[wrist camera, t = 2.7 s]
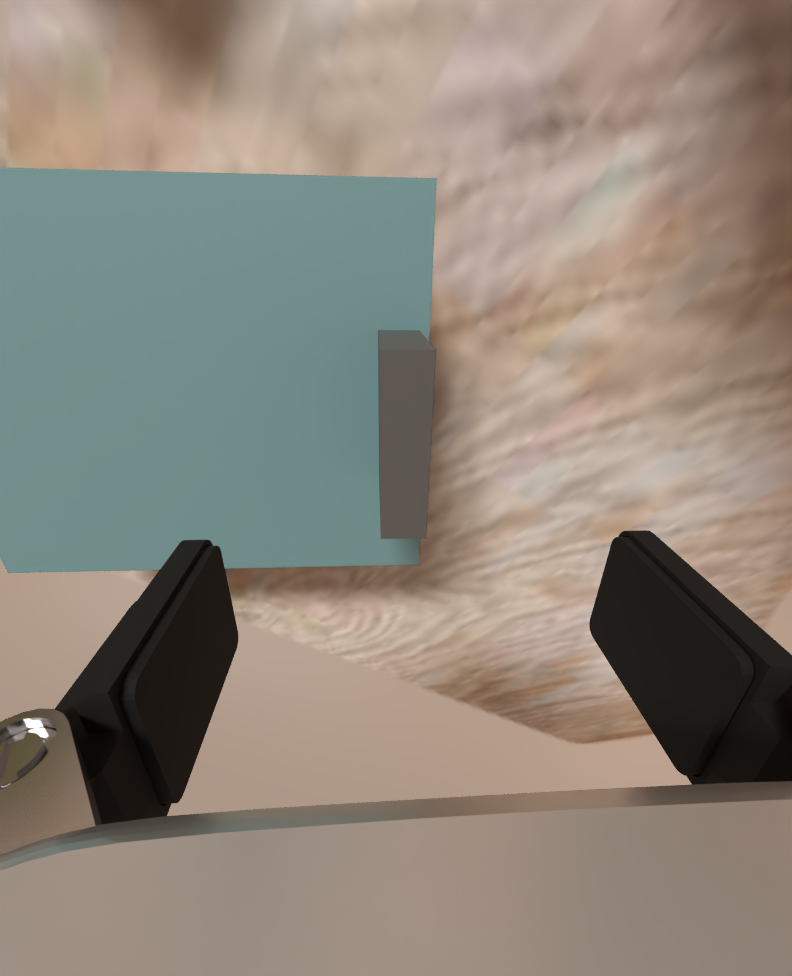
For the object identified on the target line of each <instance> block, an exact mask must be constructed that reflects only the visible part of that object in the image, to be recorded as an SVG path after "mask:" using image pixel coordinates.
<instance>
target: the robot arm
mask: <svg viewBox="0 0 792 976" xmlns="http://www.w3.org/2000/svg"><path fill="white" fill-rule="evenodd" d="M590 631H591V634H592V636H593V638H594V640H595V641H596V643H597V644H598V646H599V648H600V649H601V651H602V652H603V654H604V655H605V657H606V659H607V660H608V662H609V663H610V665H611V667H612V668H613V670H614V671H615V673H616V674H617V676H618V678H619V679H620V681H621V682H622V684H623V686H624V687H625V689H626V690H627V692H628V693H629V695H630V697H631V698H632V700H633V701H634V703H635V705H636V706H637V708H638V709H639V711H640V712H641V714H642V716H643V717H644V719H645V720H646V722H647V724H648V725H649V727H650V728H651V730H652V731H653V733H654V735H655V736H656V738H657V739H658V741H659V743H660V744H661V746H662V747H663V749H664V750H665V752H666V754H667V755H668V757H669V758H670V760H671V762H672V763H673V765H674V766H675V768H676V769H677V770H678V771H679V772H680V773H681V774H683V775H686V776H687V777H688V779H689V780H690V782H691V783H692V785H677V786H657V787H636V788H616V789H595V790H577V791H558V792H541V793H521V794H504V795H485V796H468V797H449V798H432V799H415V800H398V801H382V802H366V803H349V804H334V805H333V804H332V805H317V806H300V807H283V808H267V809H253V810H240V811H229V812H215V813H203V814H190V815H180V816H167V814H168V811H169V808H170V806H171V803H178V802H179V801H180V799H181V798H182V796H183V793H184V791H185V788H186V785H187V783H188V780H189V777H190V774H191V772H192V769H193V766H194V763H195V761H196V758H197V755H198V753H199V750H200V747H201V744H202V742H203V739H204V736H205V734H206V731H207V728H208V725H209V723H210V720H211V717H212V714H213V712H214V709H215V706H216V703H217V701H218V698H219V695H220V693H221V690H222V687H223V684H224V682H225V679H226V676H227V673H228V670H229V668H230V665H231V662H232V660H233V657H234V654H235V651H236V649H237V644H238V631H237V626H236V621H235V616H234V611H233V606H232V601H231V597H230V592H229V587H228V582H227V577H226V572H225V567H224V563H223V558H222V553H221V549H220V547H219V546H213V544H212V542H211V541H210V540H183V541H181V542H180V543H179V545H178V546H177V547H176V549H175V550H174V551H173V553H172V554H171V555H170V557H169V558H168V559H167V561H166V562H165V564H164V565H163V566H162V568H161V569H160V570H159V572H158V573H157V574H156V576H155V577H154V579H153V580H152V581H151V583H150V584H149V585H148V587H147V588H146V589H145V591H144V592H143V594H142V595H141V596H140V598H139V599H138V600H137V601H136V602H135V603H134V604H133V605H132V606H131V607H130V608H129V610H128V611H127V612H126V614H125V615H124V616H123V618H122V619H121V621H120V622H119V623H118V625H117V626H116V627H115V629H114V630H113V631H112V633H111V634H110V635H109V637H108V638H107V640H106V641H105V642H104V643H103V645H102V646H101V647H100V649H99V650H98V651H97V653H96V654H95V656H94V657H93V658H92V660H91V661H90V662H89V664H88V665H87V667H86V668H85V669H84V670H83V672H82V673H81V675H80V676H79V677H78V679H77V680H76V681H75V683H74V684H73V685H72V687H71V688H70V689H69V691H68V692H67V693H66V695H65V696H64V697H63V699H62V700H61V701H60V703H59V704H58V705H57V707H56V708H55V709H36V710H31V711H26V712H23V713H20V714H18V715H15V716H13V717H11V718H8V719H5V720H3V721H2V722H0V976H792V655H791V654H789V652H787V651H786V650H785V649H784V648H783V647H782V646H781V645H779V644H778V643H777V642H776V641H775V640H774V639H773V638H771V637H770V636H769V635H768V634H767V633H766V632H765V631H764V630H762V629H761V628H760V627H759V626H758V625H757V624H756V623H754V622H753V621H752V620H751V619H750V618H749V617H748V616H747V615H745V614H744V613H743V612H742V611H741V610H740V609H739V608H737V607H736V606H735V605H734V604H733V603H732V602H731V601H730V600H728V599H727V598H726V597H725V596H724V595H723V594H722V593H720V592H719V591H718V590H717V589H716V588H715V587H714V586H712V585H711V584H710V583H709V582H708V581H707V580H706V579H705V578H703V577H702V576H701V575H700V574H699V573H698V572H697V571H695V570H694V569H693V568H692V567H691V566H690V565H689V564H687V563H686V562H685V561H684V560H683V559H682V558H681V557H680V556H678V555H677V554H676V553H675V552H674V551H673V550H672V549H670V548H669V547H668V546H667V545H666V544H665V543H664V542H663V541H661V540H660V539H659V538H658V537H657V536H656V535H655V534H653V533H652V532H650V531H623V532H621V534H620V535H619V537H616V538H614V539H613V541H612V544H611V547H610V551H609V555H608V558H607V562H606V565H605V569H604V572H603V576H602V579H601V583H600V586H599V590H598V594H597V597H596V601H595V604H594V608H593V611H592V615H591V618H590Z"/></svg>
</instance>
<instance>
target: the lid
mask: <svg viewBox="0 0 792 976" xmlns="http://www.w3.org/2000/svg"><path fill="white" fill-rule="evenodd" d="M436 179H437V178H398V177H357V176H317V175H277V174H236V173H196V172H156V171H116V170H75V169H35V168H0V558H1V560H2V562H3V564H4V566H5V568H6V570H7V572H8V573H29V572H79V571H128V570H160V569H161V568H162V566H163V565H164V564H165V562H166V561H167V559H168V558H169V557H170V555H171V554H172V553H173V551H174V550H175V549H176V547H177V546H178V545H179V543H180V542H181V541H183V540H210V541H211V542H212V544H213V546H219V547H220V549H221V553H222V558H223V563H224V567H225V569H227V568H276V567H326V566H375V565H419V555H420V538H426V529H427V510H428V491H429V472H430V453H431V434H432V415H433V396H434V377H435V358H436V349H435V348H434V347H433V346H432V344H431V343H430V342H429V334H430V312H431V290H432V268H433V246H434V223H435V201H436Z"/></svg>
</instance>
